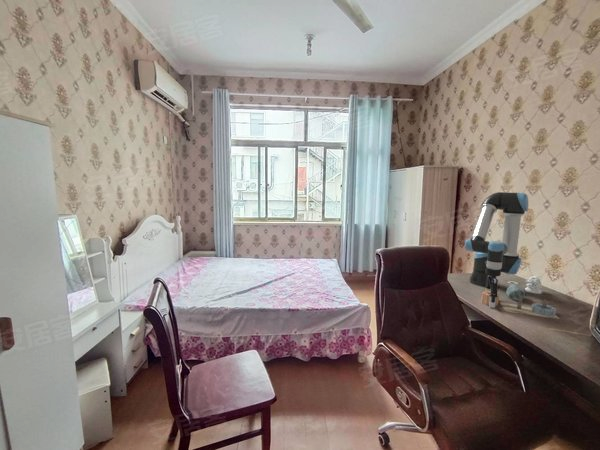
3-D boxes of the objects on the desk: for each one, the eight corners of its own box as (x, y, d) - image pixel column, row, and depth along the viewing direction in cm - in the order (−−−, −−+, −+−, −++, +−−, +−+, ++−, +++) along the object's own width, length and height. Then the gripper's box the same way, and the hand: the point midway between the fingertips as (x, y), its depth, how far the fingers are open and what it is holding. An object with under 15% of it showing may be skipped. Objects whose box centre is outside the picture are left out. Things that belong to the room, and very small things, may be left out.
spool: (529, 299, 172) (521, 283, 176) (510, 303, 177) (503, 287, 180) (528, 298, 183) (520, 282, 187) (510, 302, 188) (503, 286, 191)
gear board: (499, 303, 175) (500, 290, 174) (549, 310, 166) (551, 297, 165) (505, 312, 163) (506, 299, 162) (559, 320, 154) (561, 306, 152)
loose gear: (480, 299, 180) (481, 290, 179) (496, 301, 177) (497, 292, 176) (482, 304, 173) (484, 294, 172) (499, 307, 170) (500, 297, 169)
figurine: (521, 287, 203) (523, 272, 202) (538, 289, 200) (540, 274, 198) (527, 293, 192) (529, 277, 191) (544, 295, 189) (546, 279, 187)
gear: (528, 306, 168) (529, 301, 168) (551, 310, 165) (552, 305, 164) (534, 314, 159) (535, 309, 159) (559, 317, 155) (559, 312, 155)
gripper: (482, 262, 184) (478, 294, 187) (490, 273, 162) (486, 310, 165) (496, 263, 181) (492, 296, 185) (506, 274, 159) (502, 312, 162)
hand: (489, 303), depth 175 cm, fingers open, 12 cm apart
